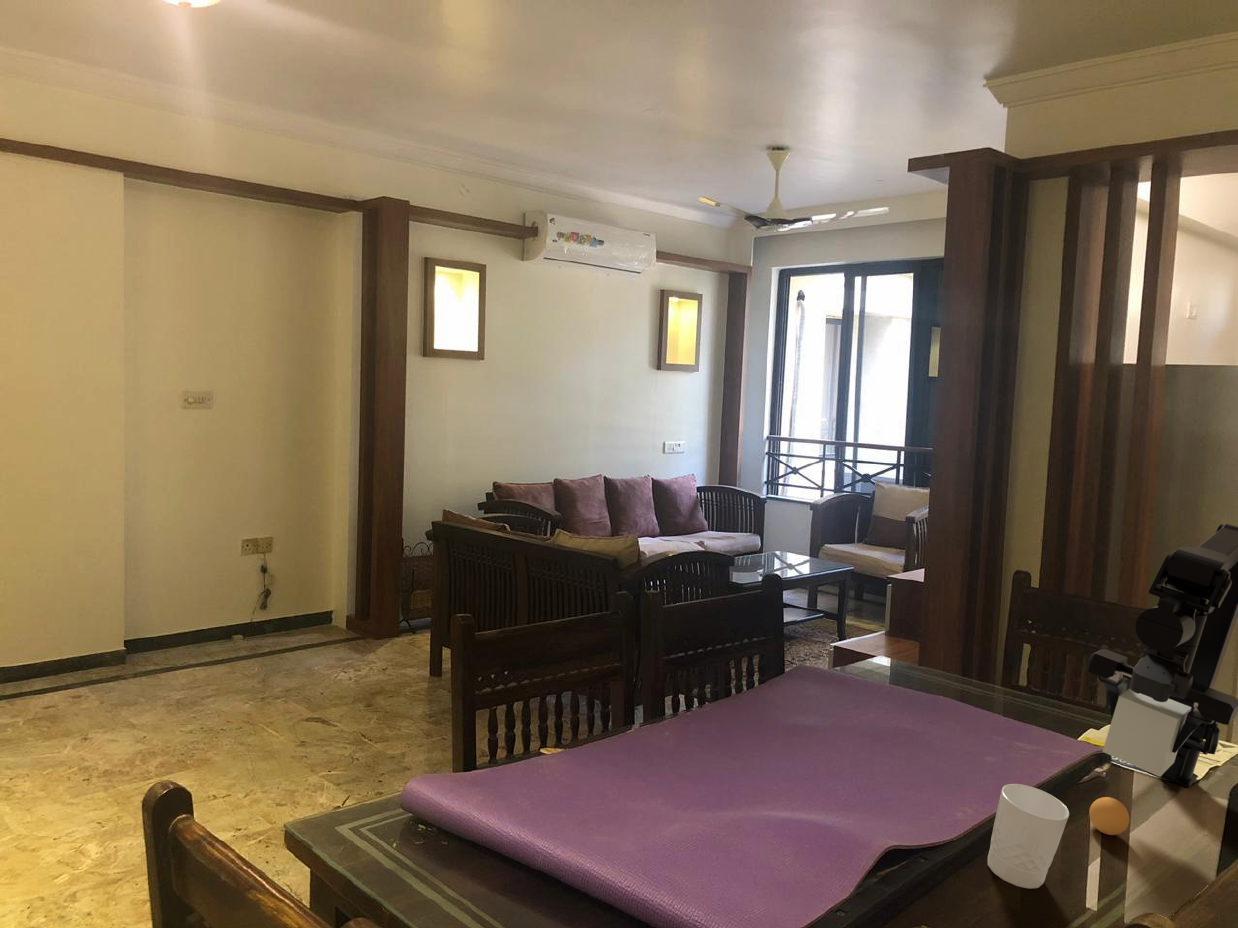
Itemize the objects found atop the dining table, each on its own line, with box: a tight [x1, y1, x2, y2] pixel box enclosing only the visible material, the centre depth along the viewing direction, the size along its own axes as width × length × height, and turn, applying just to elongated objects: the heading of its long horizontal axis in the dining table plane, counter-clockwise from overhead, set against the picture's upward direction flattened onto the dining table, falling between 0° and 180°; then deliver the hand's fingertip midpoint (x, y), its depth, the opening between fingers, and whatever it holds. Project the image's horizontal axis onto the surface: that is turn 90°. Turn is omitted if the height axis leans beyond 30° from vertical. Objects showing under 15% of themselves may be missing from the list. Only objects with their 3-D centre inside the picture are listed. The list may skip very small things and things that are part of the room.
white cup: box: [987, 783, 1070, 889], centre depth 118 cm, size 8×8×10 cm
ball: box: [1088, 796, 1130, 836], centre depth 133 cm, size 5×5×5 cm
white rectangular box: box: [1102, 688, 1192, 777], centre depth 137 cm, size 8×8×9 cm
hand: (1143, 739), depth 137 cm, fingers closed on white rectangular box, 8 cm apart
